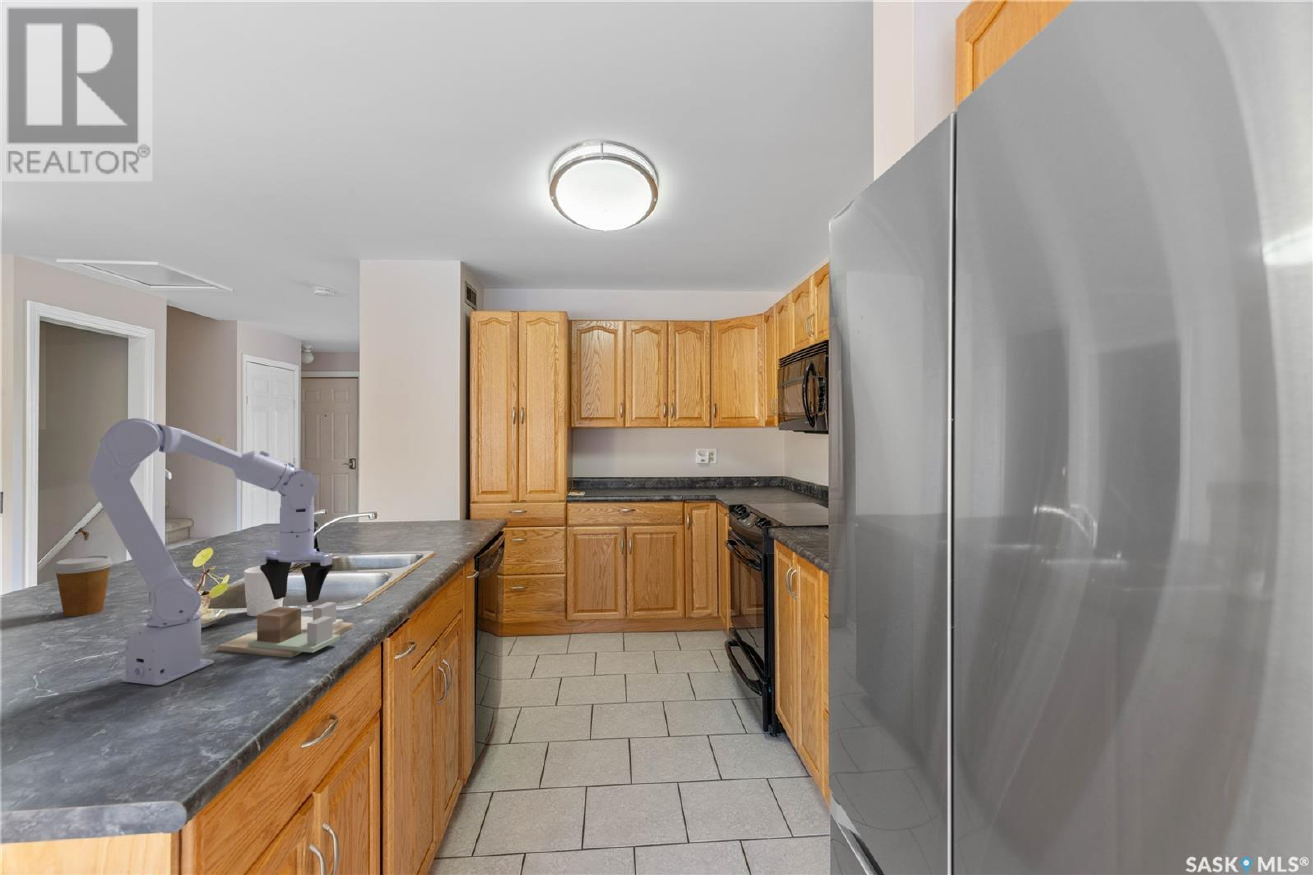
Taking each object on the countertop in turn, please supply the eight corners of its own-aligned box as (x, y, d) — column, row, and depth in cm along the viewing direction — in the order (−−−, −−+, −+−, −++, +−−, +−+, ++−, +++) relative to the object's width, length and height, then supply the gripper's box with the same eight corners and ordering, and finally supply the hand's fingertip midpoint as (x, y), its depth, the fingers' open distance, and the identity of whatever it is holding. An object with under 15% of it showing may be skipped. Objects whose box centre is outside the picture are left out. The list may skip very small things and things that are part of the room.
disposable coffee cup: (66, 608, 130) (66, 557, 129) (120, 603, 134) (120, 553, 134) (42, 621, 121) (43, 566, 121) (101, 615, 125) (101, 562, 125)
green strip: (312, 652, 103) (313, 626, 103) (248, 646, 106) (248, 621, 106) (340, 639, 110) (340, 614, 110) (278, 633, 113) (278, 609, 113)
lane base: (291, 657, 103) (291, 652, 103) (218, 650, 106) (218, 645, 106) (353, 628, 119) (353, 623, 119) (288, 622, 122) (288, 617, 122)
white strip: (318, 634, 112) (318, 610, 112) (258, 629, 115) (258, 606, 115) (343, 623, 119) (343, 600, 119) (286, 618, 122) (286, 596, 121)
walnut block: (279, 643, 106) (279, 616, 106) (257, 640, 107) (257, 614, 107) (301, 633, 111) (301, 608, 111) (279, 631, 112) (279, 606, 111)
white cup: (293, 607, 133) (294, 565, 132) (267, 618, 125) (267, 573, 125) (262, 606, 133) (263, 564, 133) (234, 616, 126) (235, 572, 125)
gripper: (344, 529, 113) (343, 596, 113) (283, 525, 116) (282, 591, 116) (316, 535, 106) (315, 607, 106) (251, 531, 109) (251, 601, 109)
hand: (296, 599), depth 110 cm, fingers open, 7 cm apart
